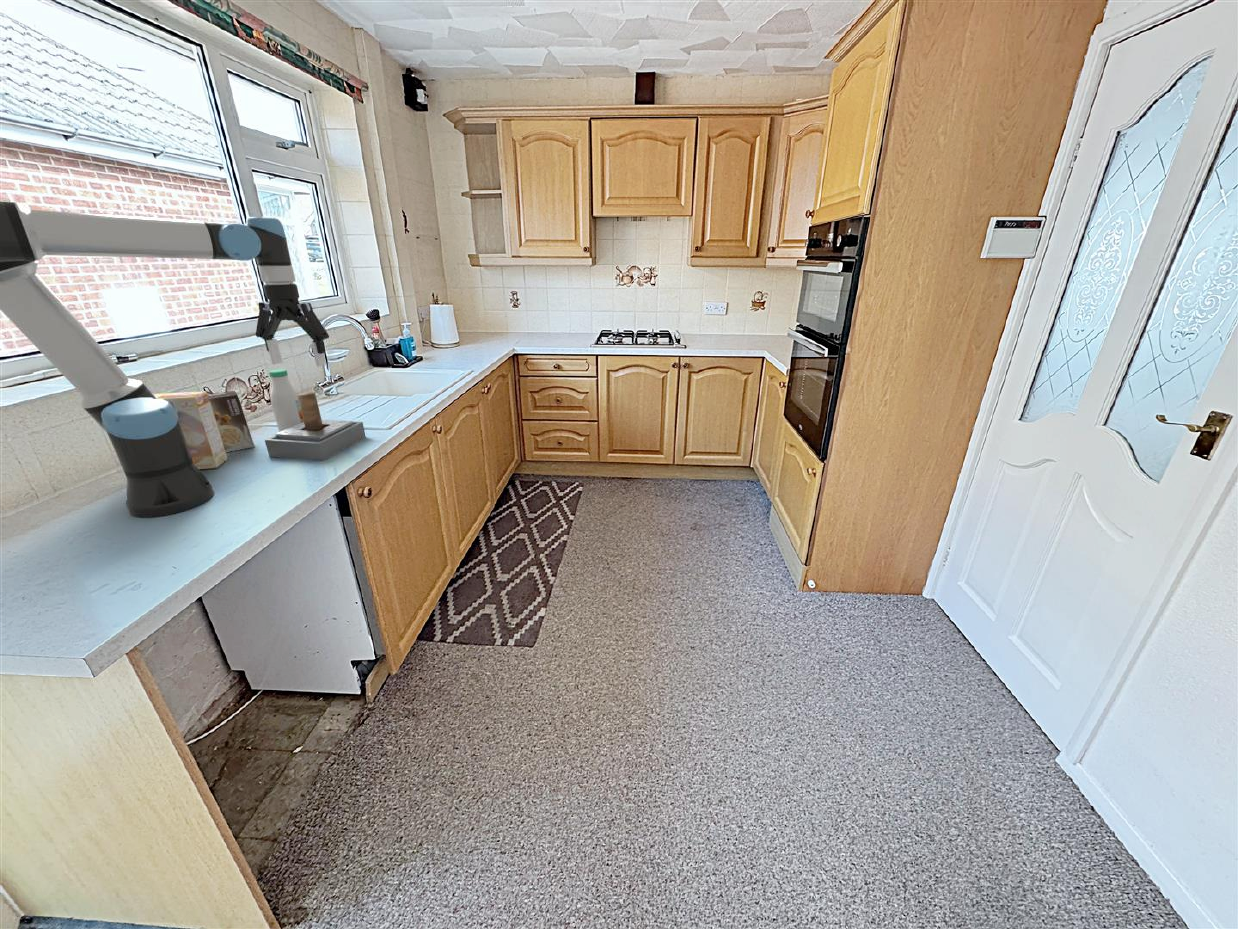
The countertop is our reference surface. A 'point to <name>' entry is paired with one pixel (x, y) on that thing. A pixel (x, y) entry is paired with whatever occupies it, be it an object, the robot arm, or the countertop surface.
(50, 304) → the robot arm
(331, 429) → the bore block
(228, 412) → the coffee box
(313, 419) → the peg
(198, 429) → the coffeecake box
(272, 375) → the milk bottle
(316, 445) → the grey socket base
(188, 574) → the countertop surface
